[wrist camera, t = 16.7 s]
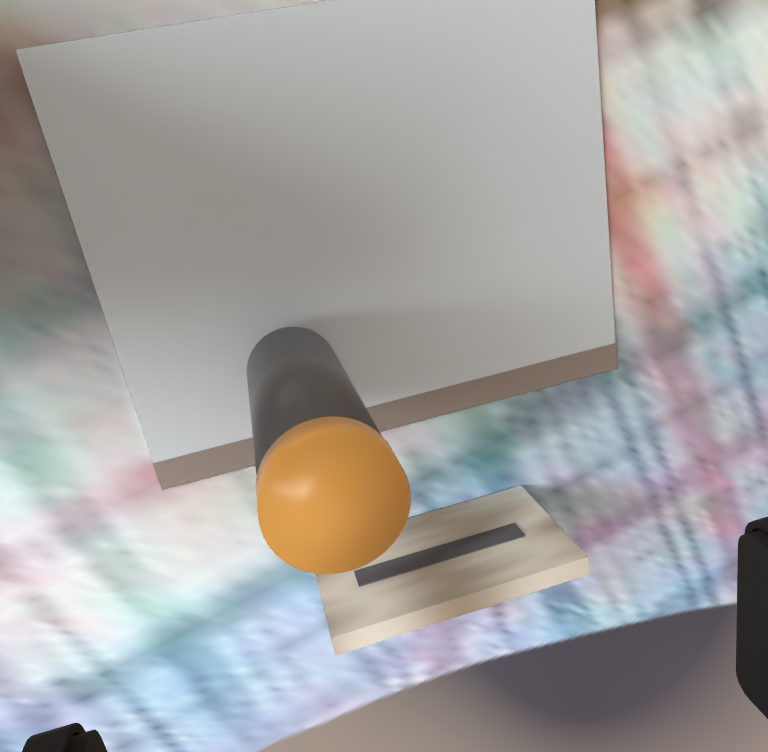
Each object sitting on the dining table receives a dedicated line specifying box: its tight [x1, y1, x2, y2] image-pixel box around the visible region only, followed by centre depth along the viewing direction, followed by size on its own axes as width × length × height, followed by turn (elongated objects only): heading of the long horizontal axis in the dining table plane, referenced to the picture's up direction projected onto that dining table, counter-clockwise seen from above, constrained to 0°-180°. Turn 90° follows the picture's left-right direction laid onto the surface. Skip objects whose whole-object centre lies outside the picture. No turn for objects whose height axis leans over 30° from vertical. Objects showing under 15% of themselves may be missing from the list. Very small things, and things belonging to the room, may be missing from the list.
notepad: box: [15, 0, 617, 490], centre depth 26 cm, size 20×16×1 cm
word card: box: [315, 485, 590, 655], centre depth 27 cm, size 10×1×6 cm, turn 101°
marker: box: [247, 327, 410, 574], centre depth 21 cm, size 4×4×12 cm
